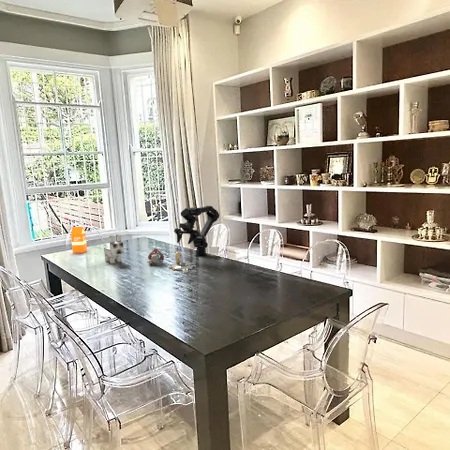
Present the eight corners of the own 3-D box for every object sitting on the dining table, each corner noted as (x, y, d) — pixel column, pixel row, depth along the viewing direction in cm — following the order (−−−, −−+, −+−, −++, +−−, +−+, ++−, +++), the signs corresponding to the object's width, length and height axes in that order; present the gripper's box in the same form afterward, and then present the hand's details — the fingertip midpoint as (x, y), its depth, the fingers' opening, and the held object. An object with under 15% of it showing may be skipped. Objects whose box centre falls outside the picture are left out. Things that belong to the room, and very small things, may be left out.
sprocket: (184, 261, 270) (183, 249, 268) (201, 265, 258) (201, 253, 256) (163, 267, 257) (162, 254, 256) (180, 272, 245) (179, 258, 244)
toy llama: (113, 258, 286) (111, 232, 282) (124, 263, 273) (122, 235, 269) (103, 261, 281) (101, 233, 277) (114, 265, 268) (112, 236, 264)
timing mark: (182, 271, 247) (182, 268, 247) (187, 271, 248) (187, 268, 248) (183, 272, 244) (183, 269, 244) (188, 272, 245) (188, 269, 245)
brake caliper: (167, 257, 273) (163, 247, 264) (164, 270, 266) (160, 260, 257) (151, 258, 275) (147, 247, 266) (148, 270, 267) (143, 260, 259)
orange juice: (83, 252, 310) (81, 227, 307) (72, 252, 311) (70, 227, 307) (87, 249, 318) (84, 225, 315) (76, 250, 318) (73, 226, 315)
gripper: (173, 217, 271) (165, 237, 265) (195, 218, 262) (188, 239, 256) (181, 224, 280) (174, 244, 274) (203, 226, 270) (196, 246, 264)
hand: (182, 243), depth 267 cm, fingers open, 9 cm apart
